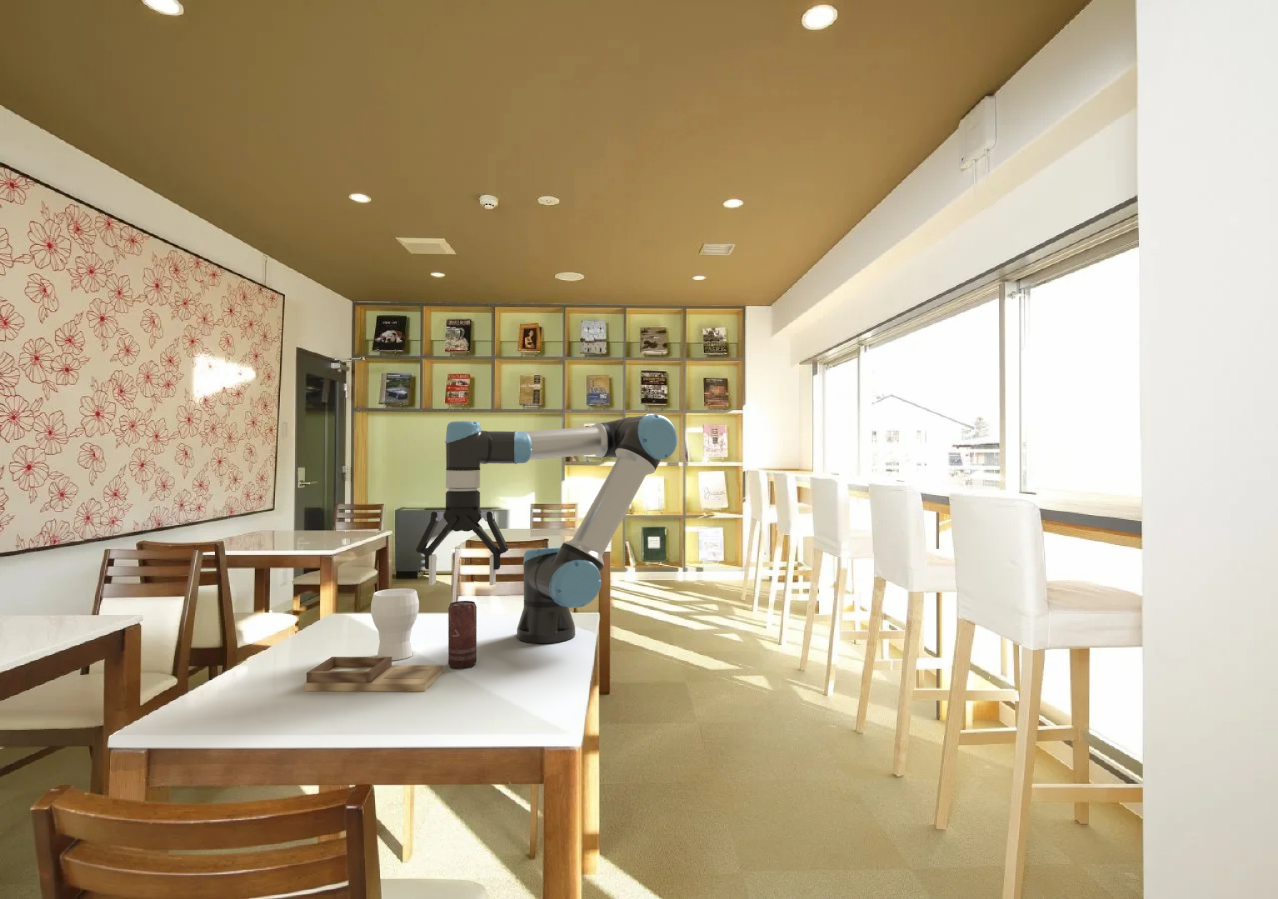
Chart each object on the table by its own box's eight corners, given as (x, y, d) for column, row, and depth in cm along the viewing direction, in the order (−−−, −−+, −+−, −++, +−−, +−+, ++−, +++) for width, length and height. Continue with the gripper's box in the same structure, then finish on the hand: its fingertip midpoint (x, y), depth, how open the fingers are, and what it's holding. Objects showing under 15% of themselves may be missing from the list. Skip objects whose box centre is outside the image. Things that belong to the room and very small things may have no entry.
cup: (360, 659, 156) (360, 594, 156) (396, 647, 165) (396, 586, 165) (393, 665, 151) (393, 598, 151) (428, 653, 160) (428, 590, 160)
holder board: (443, 672, 146) (443, 656, 146) (424, 691, 134) (424, 673, 134) (333, 672, 146) (333, 656, 146) (305, 691, 134) (305, 673, 134)
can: (470, 670, 147) (470, 606, 147) (443, 668, 148) (443, 605, 149) (482, 662, 153) (482, 600, 153) (456, 660, 154) (456, 599, 155)
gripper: (521, 489, 155) (520, 581, 155) (413, 489, 155) (413, 581, 155) (514, 490, 148) (514, 587, 147) (401, 490, 148) (401, 587, 147)
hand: (462, 584), depth 151 cm, fingers open, 13 cm apart
